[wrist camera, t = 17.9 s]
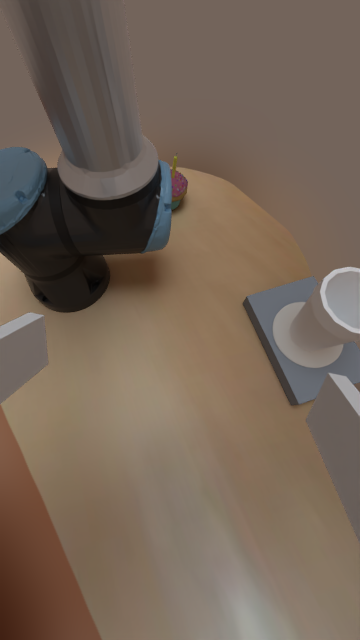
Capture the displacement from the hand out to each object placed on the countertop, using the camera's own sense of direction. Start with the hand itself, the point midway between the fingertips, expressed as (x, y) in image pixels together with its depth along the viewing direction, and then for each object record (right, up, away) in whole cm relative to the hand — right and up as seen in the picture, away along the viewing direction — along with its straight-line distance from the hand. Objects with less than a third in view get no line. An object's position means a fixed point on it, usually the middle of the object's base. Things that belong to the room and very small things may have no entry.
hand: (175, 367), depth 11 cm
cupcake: (-2, +30, +47) cm, 56 cm away
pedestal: (+22, -1, +34) cm, 40 cm away
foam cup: (+22, 0, +31) cm, 38 cm away
